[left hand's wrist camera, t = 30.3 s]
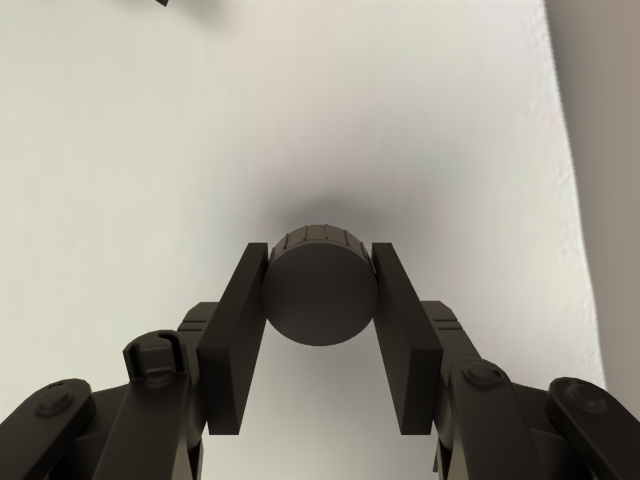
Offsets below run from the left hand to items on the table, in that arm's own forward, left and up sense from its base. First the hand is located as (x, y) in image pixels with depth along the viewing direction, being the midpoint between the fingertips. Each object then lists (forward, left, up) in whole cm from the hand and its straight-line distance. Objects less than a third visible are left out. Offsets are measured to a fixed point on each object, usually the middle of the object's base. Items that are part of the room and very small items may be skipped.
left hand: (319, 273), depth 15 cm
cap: (0, 0, +2) cm, 2 cm away
